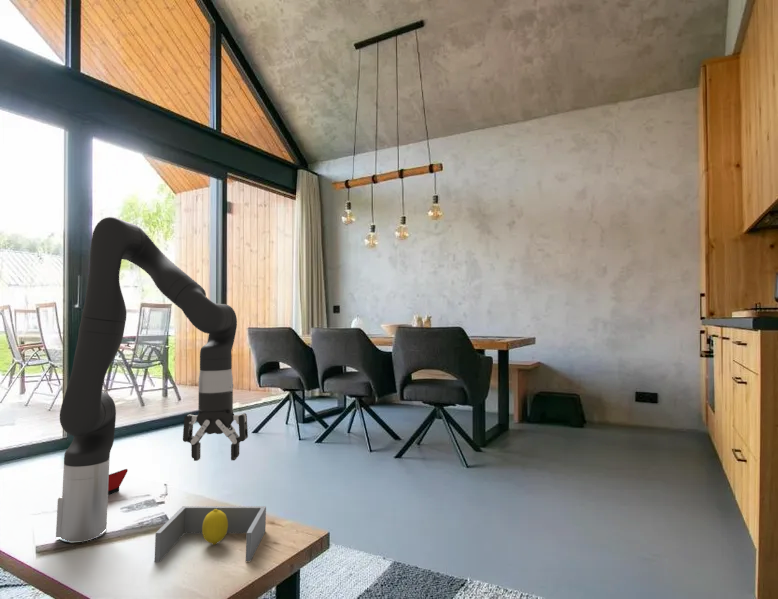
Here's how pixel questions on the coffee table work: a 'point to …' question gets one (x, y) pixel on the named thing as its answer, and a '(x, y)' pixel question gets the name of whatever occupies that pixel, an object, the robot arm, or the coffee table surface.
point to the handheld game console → (115, 481)
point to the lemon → (215, 526)
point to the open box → (192, 522)
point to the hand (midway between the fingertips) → (215, 459)
